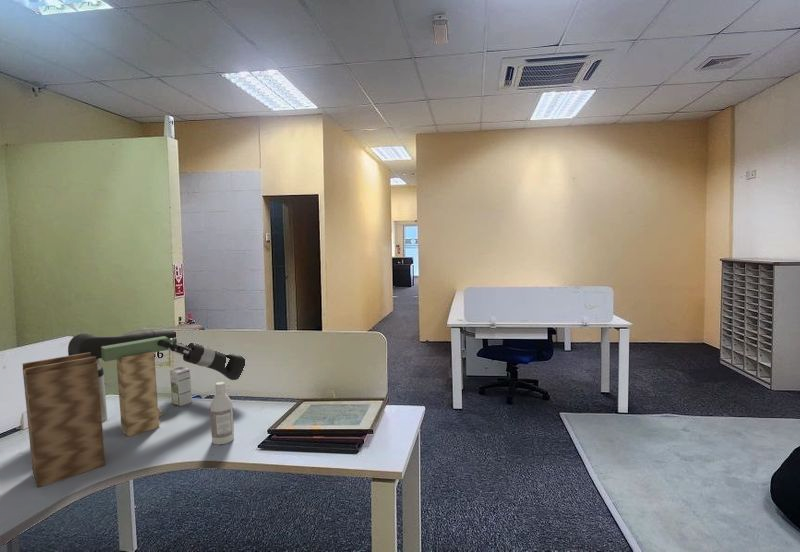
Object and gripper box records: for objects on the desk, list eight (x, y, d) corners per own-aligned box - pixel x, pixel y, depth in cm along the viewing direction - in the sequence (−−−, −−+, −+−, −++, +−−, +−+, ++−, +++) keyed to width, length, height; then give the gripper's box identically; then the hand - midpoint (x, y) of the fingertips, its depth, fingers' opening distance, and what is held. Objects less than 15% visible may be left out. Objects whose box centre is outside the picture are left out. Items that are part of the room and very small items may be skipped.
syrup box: (192, 402, 182) (190, 368, 180) (179, 406, 177) (177, 372, 175) (184, 399, 185) (182, 366, 183) (171, 404, 180) (169, 369, 178)
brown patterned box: (37, 487, 121) (25, 370, 117) (32, 474, 127) (22, 362, 124) (105, 465, 132) (96, 357, 129) (97, 454, 139) (89, 351, 136)
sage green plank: (105, 361, 146) (104, 348, 146) (101, 359, 149) (100, 346, 149) (177, 347, 163) (177, 336, 162) (173, 345, 166) (173, 334, 165)
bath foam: (216, 436, 150) (213, 379, 149) (236, 435, 151) (234, 379, 149) (208, 445, 144) (205, 387, 142) (229, 445, 144) (226, 386, 142)
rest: (127, 436, 151) (121, 357, 148) (121, 429, 156) (115, 353, 154) (159, 427, 158) (154, 352, 155) (152, 421, 163) (147, 348, 161)
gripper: (196, 343, 176) (155, 328, 165) (211, 349, 166) (167, 334, 155) (188, 360, 174) (145, 347, 163) (202, 368, 164) (157, 354, 153)
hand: (156, 341), depth 159 cm, fingers closed on sage green plank, 4 cm apart
